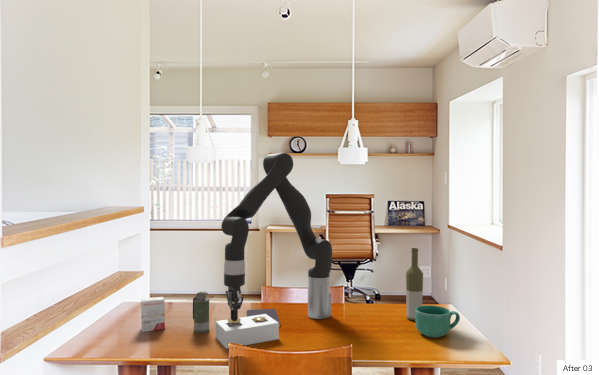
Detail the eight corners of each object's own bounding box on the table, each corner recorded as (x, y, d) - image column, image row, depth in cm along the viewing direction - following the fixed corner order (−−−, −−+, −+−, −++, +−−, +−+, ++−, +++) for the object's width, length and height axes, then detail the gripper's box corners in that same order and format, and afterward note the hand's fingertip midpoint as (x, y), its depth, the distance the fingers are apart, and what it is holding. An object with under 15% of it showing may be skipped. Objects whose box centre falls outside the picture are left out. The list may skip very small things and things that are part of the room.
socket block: (265, 329, 166) (265, 313, 166) (278, 339, 156) (278, 322, 156) (215, 337, 157) (215, 321, 157) (226, 348, 146) (226, 331, 146)
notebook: (246, 313, 188) (248, 329, 167) (246, 309, 188) (248, 325, 167) (275, 312, 190) (280, 328, 169) (275, 308, 190) (280, 324, 169)
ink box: (164, 325, 169) (164, 296, 169) (165, 329, 165) (165, 299, 165) (141, 328, 166) (141, 298, 166) (141, 332, 162) (141, 301, 162)
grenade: (212, 329, 165) (212, 291, 165) (204, 334, 160) (204, 295, 159) (198, 327, 167) (198, 289, 167) (189, 332, 162) (189, 293, 161)
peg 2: (262, 332, 162) (263, 315, 162) (267, 336, 158) (267, 319, 158) (251, 334, 160) (251, 317, 160) (256, 338, 155) (256, 321, 155)
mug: (419, 340, 156) (419, 314, 156) (412, 328, 168) (412, 304, 168) (465, 341, 155) (465, 315, 155) (455, 329, 167) (455, 305, 167)
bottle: (425, 321, 177) (426, 249, 176) (408, 322, 176) (409, 249, 176) (419, 316, 184) (419, 247, 183) (403, 316, 183) (403, 247, 183)
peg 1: (237, 334, 157) (238, 316, 157) (242, 338, 153) (242, 320, 153) (225, 336, 155) (226, 318, 155) (230, 340, 151) (230, 322, 151)
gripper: (251, 274, 150) (250, 323, 150) (238, 267, 161) (237, 313, 161) (230, 276, 146) (230, 326, 146) (218, 269, 158) (218, 316, 158)
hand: (234, 319), depth 154 cm, fingers closed
